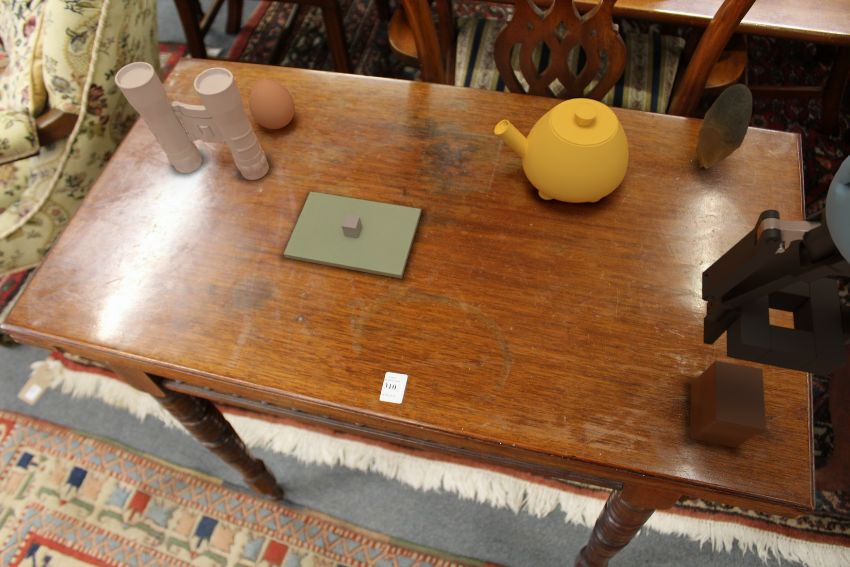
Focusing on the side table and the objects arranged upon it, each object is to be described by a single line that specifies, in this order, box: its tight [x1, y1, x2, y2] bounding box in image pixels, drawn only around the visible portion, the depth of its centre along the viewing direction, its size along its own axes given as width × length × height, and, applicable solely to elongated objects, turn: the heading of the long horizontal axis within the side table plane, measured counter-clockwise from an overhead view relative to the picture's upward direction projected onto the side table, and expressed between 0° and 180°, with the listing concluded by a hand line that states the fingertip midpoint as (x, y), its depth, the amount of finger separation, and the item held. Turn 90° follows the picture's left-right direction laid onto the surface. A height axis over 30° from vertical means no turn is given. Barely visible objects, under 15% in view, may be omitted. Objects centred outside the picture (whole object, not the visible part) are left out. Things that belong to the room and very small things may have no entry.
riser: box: [689, 360, 767, 448], centre depth 64 cm, size 7×5×8 cm
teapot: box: [493, 97, 630, 203], centre depth 82 cm, size 20×16×14 cm
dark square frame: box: [725, 277, 848, 377], centre depth 48 cm, size 8×8×3 cm
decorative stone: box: [695, 83, 753, 170], centre depth 80 cm, size 10×6×15 cm, turn 162°
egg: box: [248, 78, 296, 130], centre depth 93 cm, size 7×7×8 cm
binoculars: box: [114, 61, 270, 181], centre depth 85 cm, size 17×5×18 cm, turn 81°
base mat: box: [283, 191, 422, 279], centre depth 83 cm, size 12×18×4 cm, turn 77°
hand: (756, 340), depth 53 cm, fingers closed on dark square frame, 8 cm apart
